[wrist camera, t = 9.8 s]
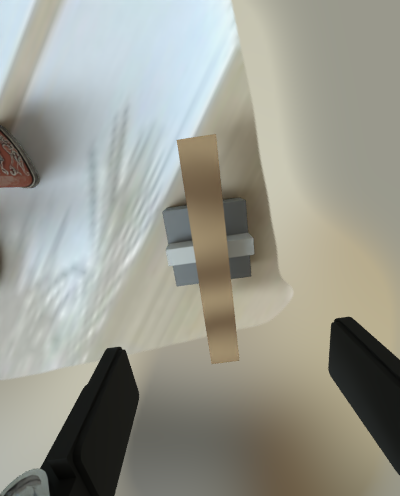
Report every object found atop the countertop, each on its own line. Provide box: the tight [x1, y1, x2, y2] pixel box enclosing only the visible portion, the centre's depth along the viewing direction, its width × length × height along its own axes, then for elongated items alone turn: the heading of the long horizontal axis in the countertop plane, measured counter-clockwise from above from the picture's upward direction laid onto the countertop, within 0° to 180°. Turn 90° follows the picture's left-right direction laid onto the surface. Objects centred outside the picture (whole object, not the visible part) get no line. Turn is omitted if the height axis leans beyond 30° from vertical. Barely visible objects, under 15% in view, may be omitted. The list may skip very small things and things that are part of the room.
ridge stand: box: [162, 198, 254, 286], centre depth 27 cm, size 10×10×6 cm
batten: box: [177, 134, 239, 364], centre depth 22 cm, size 22×3×5 cm, turn 8°
